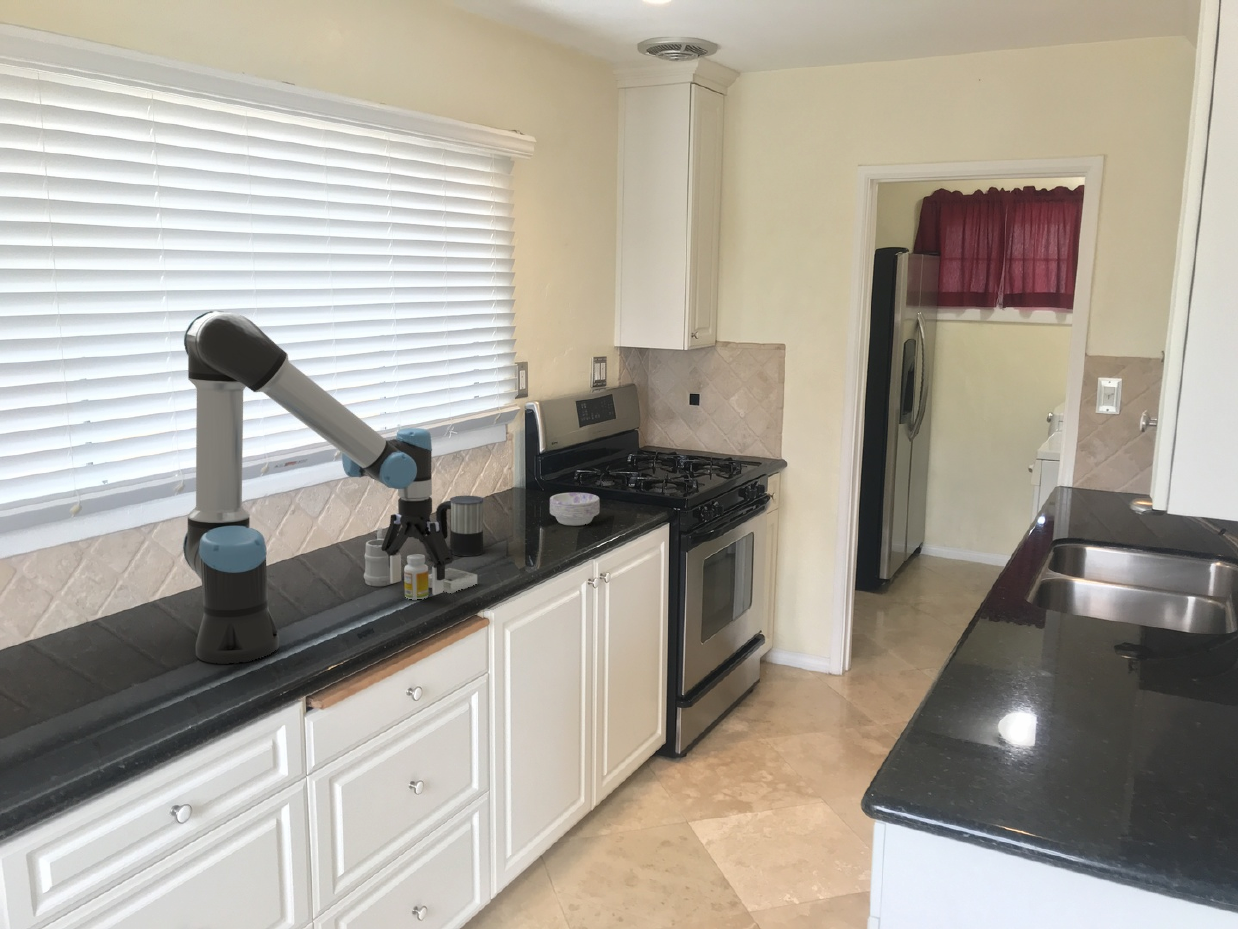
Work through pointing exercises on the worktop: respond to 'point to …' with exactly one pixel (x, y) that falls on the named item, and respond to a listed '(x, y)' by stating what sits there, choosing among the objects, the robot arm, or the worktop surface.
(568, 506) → the paper bowls
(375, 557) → the mug
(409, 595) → the supplement bottle
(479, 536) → the milk frother
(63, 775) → the worktop surface
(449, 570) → the square picture frame
